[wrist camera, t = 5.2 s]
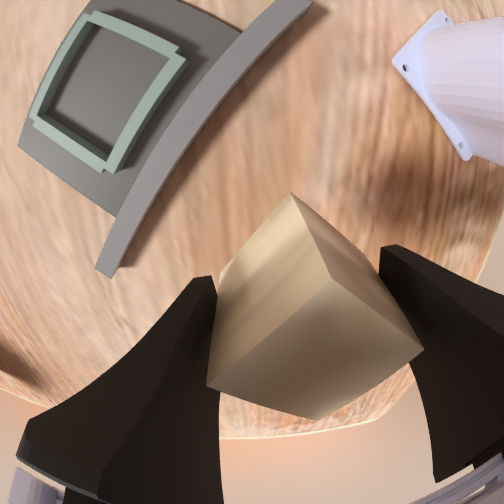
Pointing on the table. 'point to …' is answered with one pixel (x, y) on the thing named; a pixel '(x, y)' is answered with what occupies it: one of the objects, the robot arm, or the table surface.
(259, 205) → the table surface
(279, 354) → the block
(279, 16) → the rail
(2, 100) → the table surface
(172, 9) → the keeper cradle
